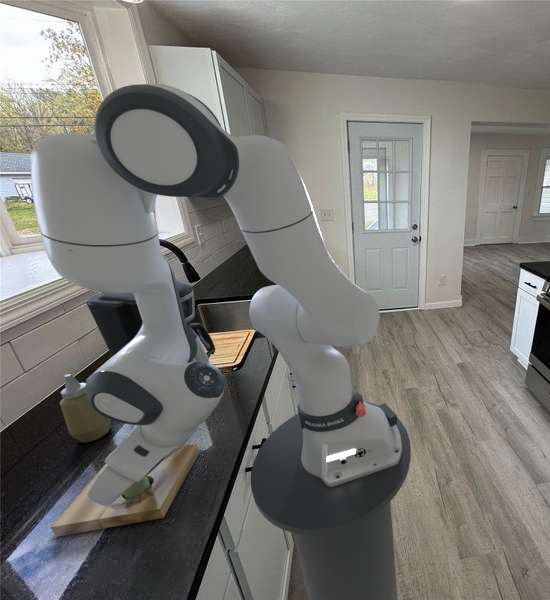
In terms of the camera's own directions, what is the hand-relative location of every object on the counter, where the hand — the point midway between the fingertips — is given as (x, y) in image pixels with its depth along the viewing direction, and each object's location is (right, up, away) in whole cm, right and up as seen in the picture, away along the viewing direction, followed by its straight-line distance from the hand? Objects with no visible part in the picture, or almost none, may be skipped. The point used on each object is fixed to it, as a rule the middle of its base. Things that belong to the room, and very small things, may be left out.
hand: (135, 466), depth 62 cm
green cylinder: (0, -7, +2) cm, 8 cm away
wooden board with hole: (-3, -7, +4) cm, 8 cm away
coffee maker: (-22, +6, +41) cm, 47 cm away
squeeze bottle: (-27, -2, +19) cm, 33 cm away
